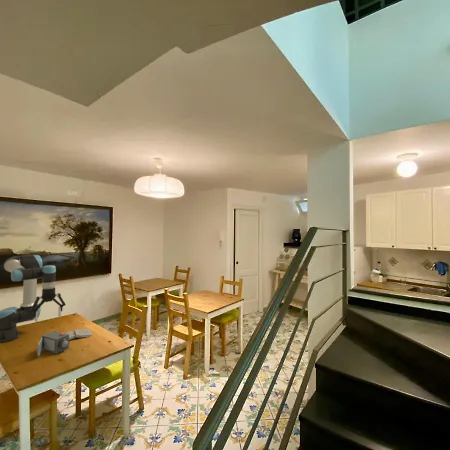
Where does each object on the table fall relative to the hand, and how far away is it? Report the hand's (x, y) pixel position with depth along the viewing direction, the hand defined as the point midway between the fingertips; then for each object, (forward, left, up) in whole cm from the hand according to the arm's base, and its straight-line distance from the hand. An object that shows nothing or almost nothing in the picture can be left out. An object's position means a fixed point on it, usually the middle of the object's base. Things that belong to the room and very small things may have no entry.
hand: (48, 318), depth 172 cm
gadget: (-9, +26, -24) cm, 37 cm away
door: (-3, -3, -22) cm, 23 cm away
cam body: (0, +6, -24) cm, 24 cm away
